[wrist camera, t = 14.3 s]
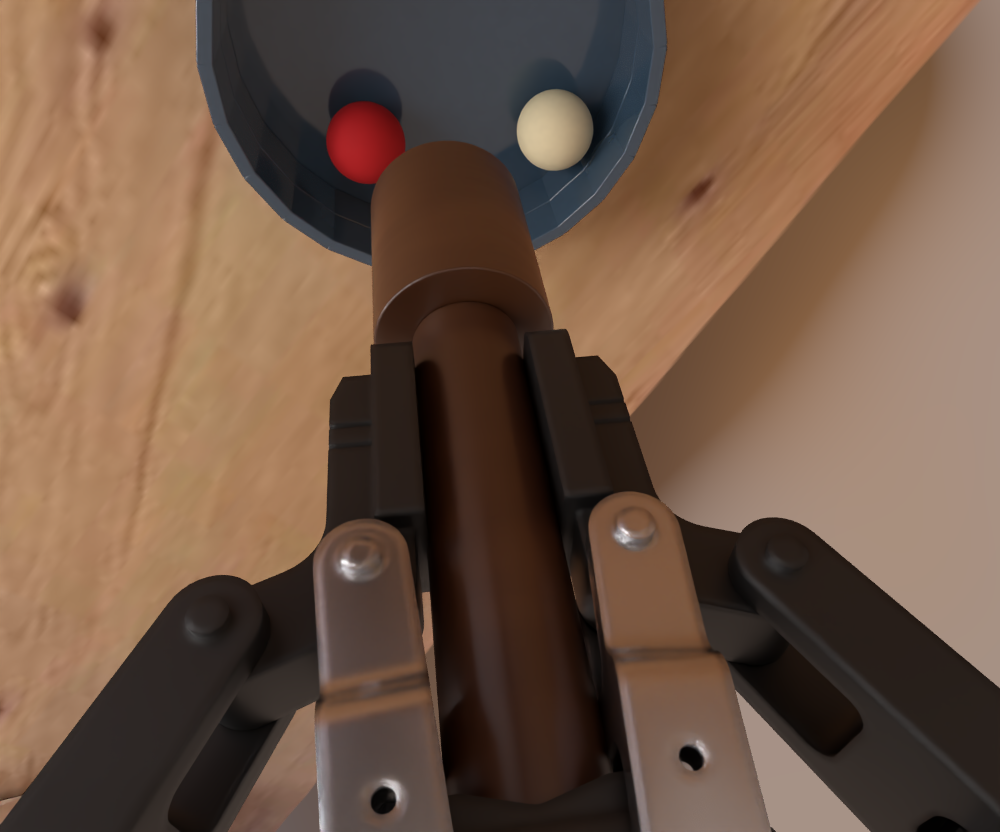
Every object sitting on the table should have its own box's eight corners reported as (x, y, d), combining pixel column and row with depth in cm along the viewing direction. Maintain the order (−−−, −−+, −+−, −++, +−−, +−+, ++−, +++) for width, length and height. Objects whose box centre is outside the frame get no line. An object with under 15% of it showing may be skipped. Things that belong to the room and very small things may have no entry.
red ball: (358, 71, 28) (370, 105, 26) (413, 124, 30) (427, 160, 28) (306, 126, 29) (313, 163, 27) (362, 174, 31) (372, 212, 29)
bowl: (409, -393, 20) (419, -394, 17) (709, 24, 29) (750, 72, 26) (131, 46, 27) (102, 100, 24) (443, 272, 36) (452, 332, 33)
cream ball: (520, 69, 28) (593, 83, 27) (544, 101, 31) (611, 114, 30) (495, 147, 28) (567, 163, 27) (521, 171, 31) (587, 187, 30)
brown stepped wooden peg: (440, 107, 15) (571, 917, 6) (549, 203, 17) (776, 920, 8) (339, 216, 17) (317, 994, 7) (450, 293, 19) (542, 980, 9)
